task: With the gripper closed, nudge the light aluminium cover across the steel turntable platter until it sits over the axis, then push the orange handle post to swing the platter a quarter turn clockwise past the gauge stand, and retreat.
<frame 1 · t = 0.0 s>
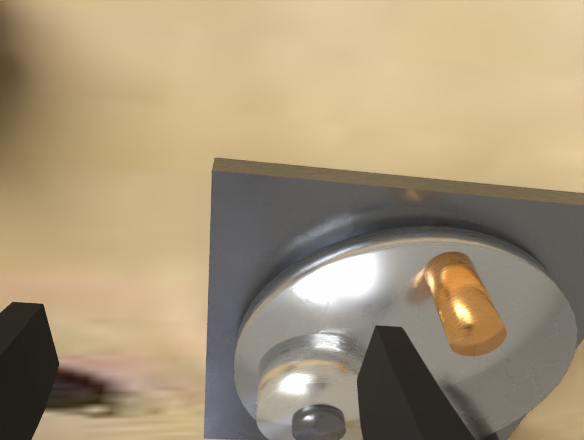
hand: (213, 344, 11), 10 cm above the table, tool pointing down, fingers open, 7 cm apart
cover: (314, 370, 23), point 3 cm above the table, touching platter
platter: (403, 400, 23), point 4 cm above the table, hinge at 0.0°, touching cover
turntable base: (391, 333, 26), on the table
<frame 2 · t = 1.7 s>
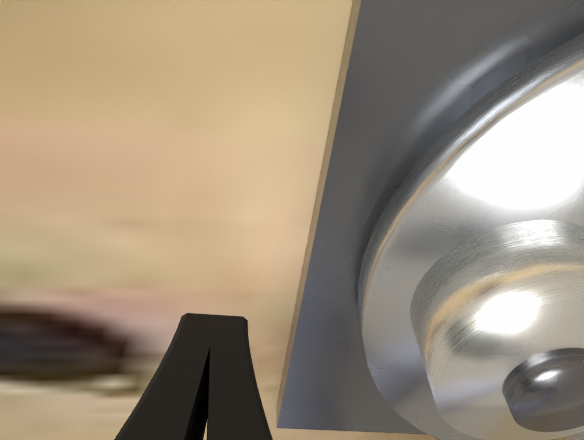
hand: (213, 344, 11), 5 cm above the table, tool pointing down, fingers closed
cover: (509, 300, 13), point 3 cm above the table, touching platter
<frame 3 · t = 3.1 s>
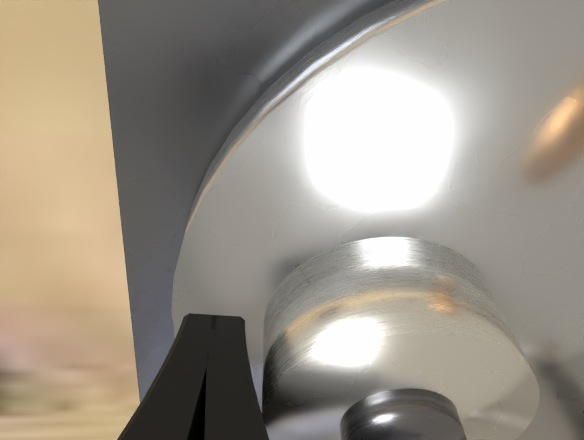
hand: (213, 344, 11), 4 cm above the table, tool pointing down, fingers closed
cover: (376, 324, 12), point 3 cm above the table, touching gripper, platter
platter: (517, 382, 11), point 4 cm above the table, hinge at 0.0°, touching cover
turntable base: (472, 263, 14), on the table
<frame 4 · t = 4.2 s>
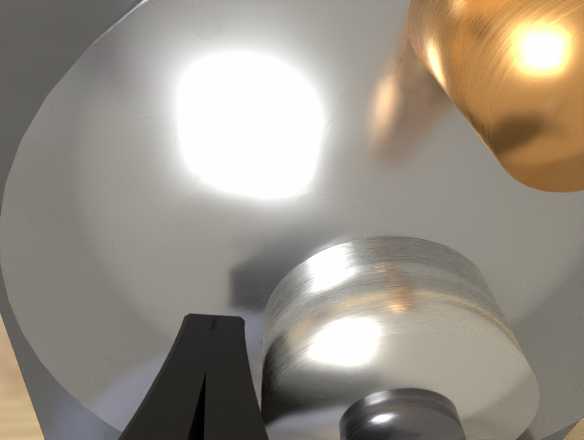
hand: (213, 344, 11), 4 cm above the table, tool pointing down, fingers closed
cover: (375, 324, 12), point 3 cm above the table, touching gripper, platter
platter: (370, 374, 11), point 4 cm above the table, hinge at 0.0°, touching cover
turntable base: (353, 252, 14), on the table
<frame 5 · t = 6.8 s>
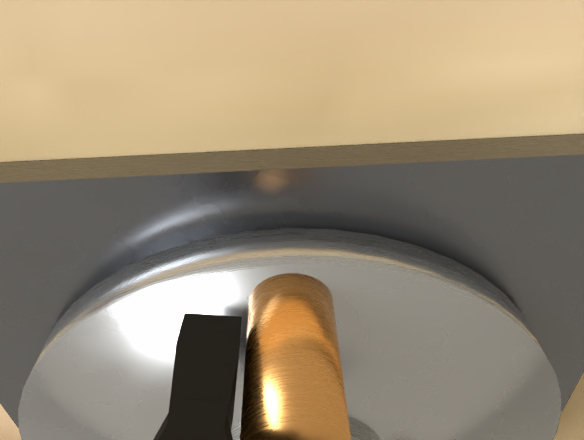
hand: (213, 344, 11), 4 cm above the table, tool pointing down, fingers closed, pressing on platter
turntable base: (290, 385, 18), on the table
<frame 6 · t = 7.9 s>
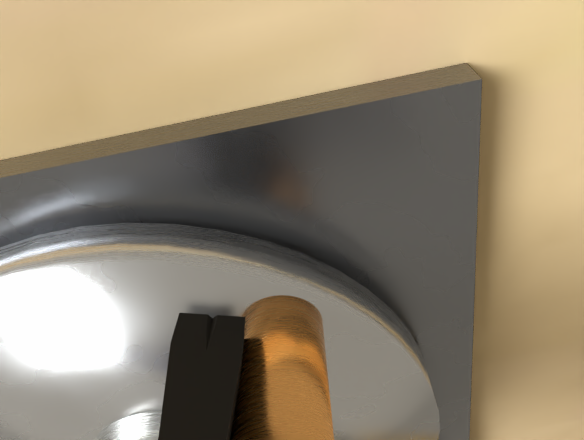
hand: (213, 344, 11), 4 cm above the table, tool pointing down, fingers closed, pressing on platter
turntable base: (188, 384, 17), on the table
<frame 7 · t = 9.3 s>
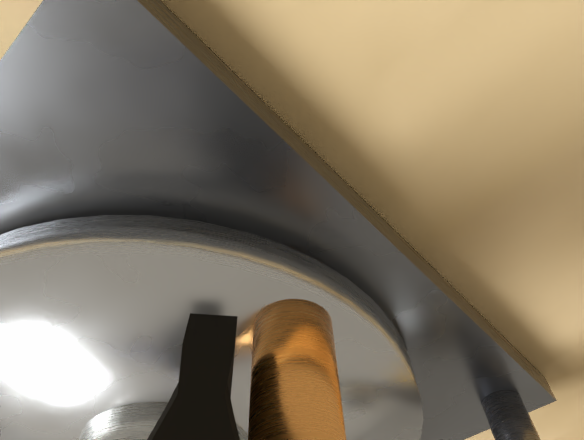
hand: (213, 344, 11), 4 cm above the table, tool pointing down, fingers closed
turntable base: (176, 376, 18), on the table
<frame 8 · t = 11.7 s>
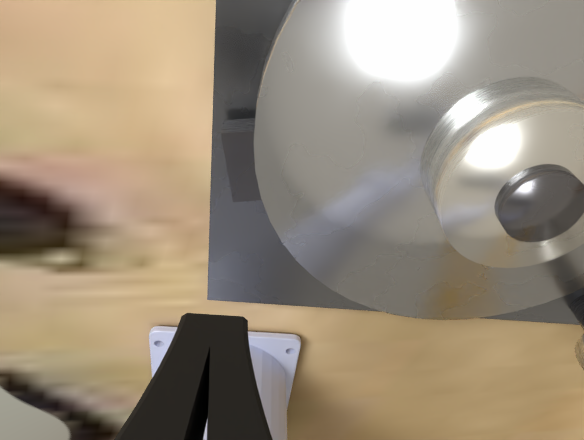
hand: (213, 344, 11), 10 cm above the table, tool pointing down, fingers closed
cover: (501, 156, 16), point 3 cm above the table, touching platter
platter: (500, 169, 15), point 4 cm above the table, hinge at -78.6°, touching cover
turntable base: (475, 118, 18), on the table
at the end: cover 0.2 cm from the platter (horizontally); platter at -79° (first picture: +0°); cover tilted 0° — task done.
